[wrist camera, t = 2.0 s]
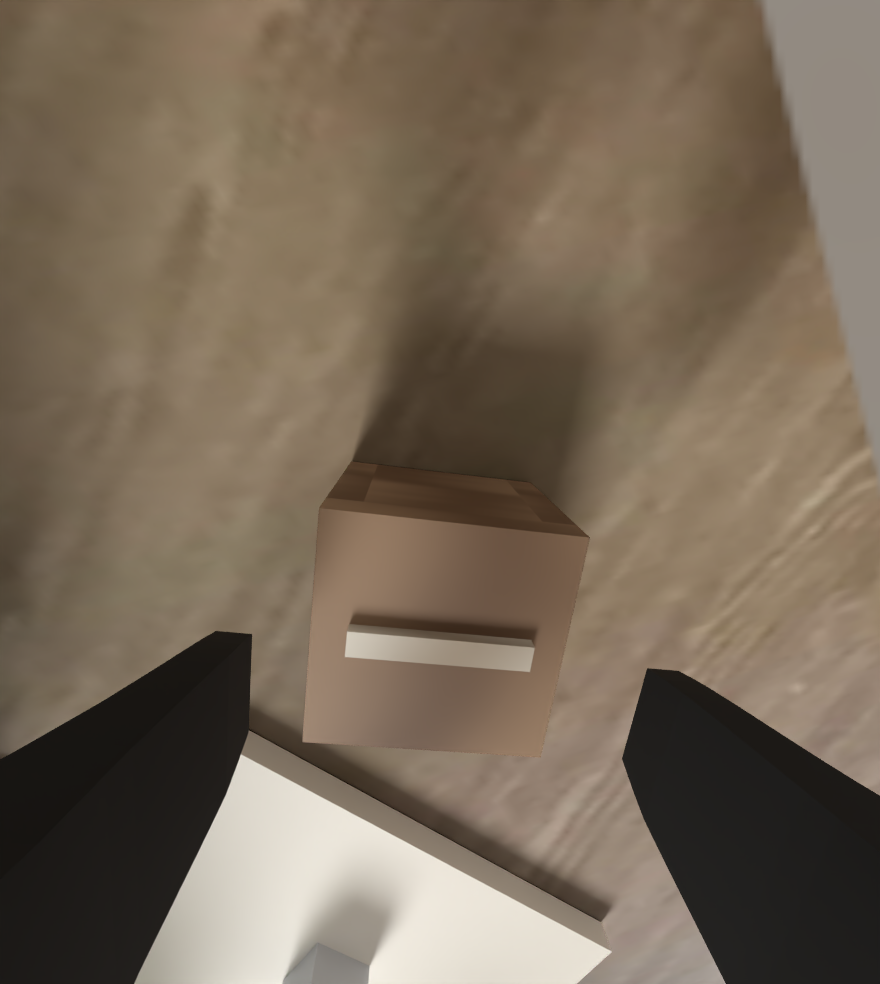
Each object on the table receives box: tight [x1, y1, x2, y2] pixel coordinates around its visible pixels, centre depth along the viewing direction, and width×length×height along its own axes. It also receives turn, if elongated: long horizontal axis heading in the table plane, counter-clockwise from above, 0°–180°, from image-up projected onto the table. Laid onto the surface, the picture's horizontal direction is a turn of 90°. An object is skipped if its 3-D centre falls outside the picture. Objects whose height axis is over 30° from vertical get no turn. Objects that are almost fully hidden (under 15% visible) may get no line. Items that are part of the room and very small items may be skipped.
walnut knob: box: [302, 462, 590, 757], centre depth 12 cm, size 6×6×5 cm
